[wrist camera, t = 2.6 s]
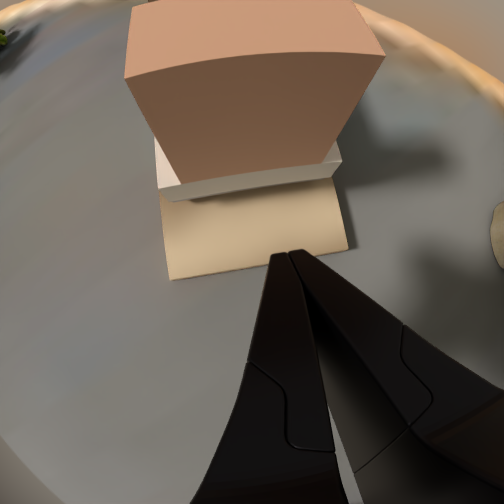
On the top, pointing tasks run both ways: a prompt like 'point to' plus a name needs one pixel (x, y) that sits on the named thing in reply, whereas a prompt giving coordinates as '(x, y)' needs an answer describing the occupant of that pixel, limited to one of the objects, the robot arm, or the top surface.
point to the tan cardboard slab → (250, 227)
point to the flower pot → (498, 234)
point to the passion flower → (3, 38)
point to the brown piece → (247, 89)
